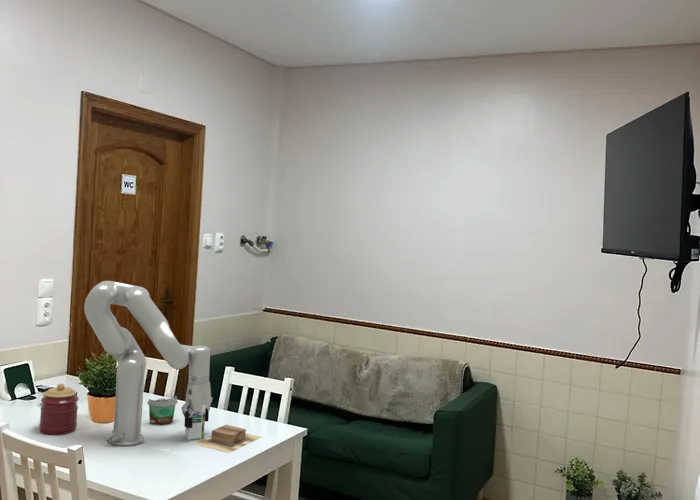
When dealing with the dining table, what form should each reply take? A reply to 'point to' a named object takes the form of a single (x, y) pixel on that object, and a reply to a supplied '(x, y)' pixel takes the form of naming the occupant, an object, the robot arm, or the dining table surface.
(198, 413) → the syrup box
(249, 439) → the build plate
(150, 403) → the food container
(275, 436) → the dining table surface
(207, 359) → the robot arm
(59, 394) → the canister
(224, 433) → the base block
